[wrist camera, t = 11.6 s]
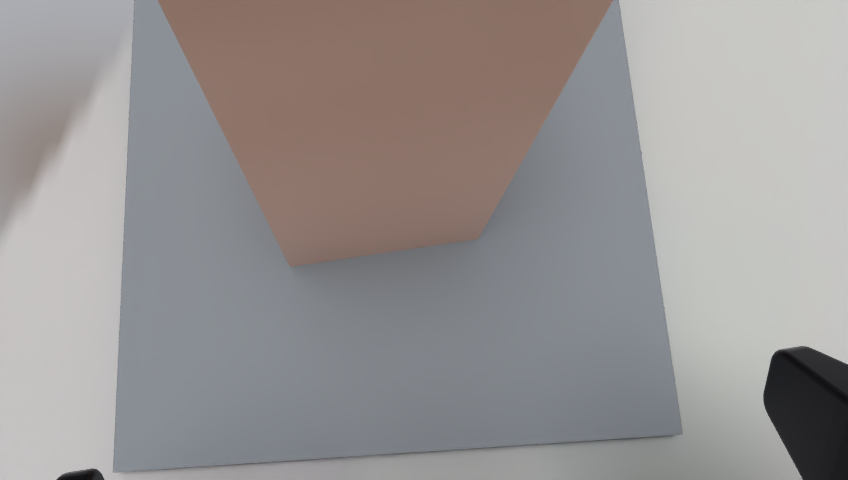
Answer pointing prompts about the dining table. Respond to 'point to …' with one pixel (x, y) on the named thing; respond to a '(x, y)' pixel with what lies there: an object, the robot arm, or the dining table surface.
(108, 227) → the dining table surface
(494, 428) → the mat
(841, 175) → the dining table surface
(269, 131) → the tall salmon pink box
